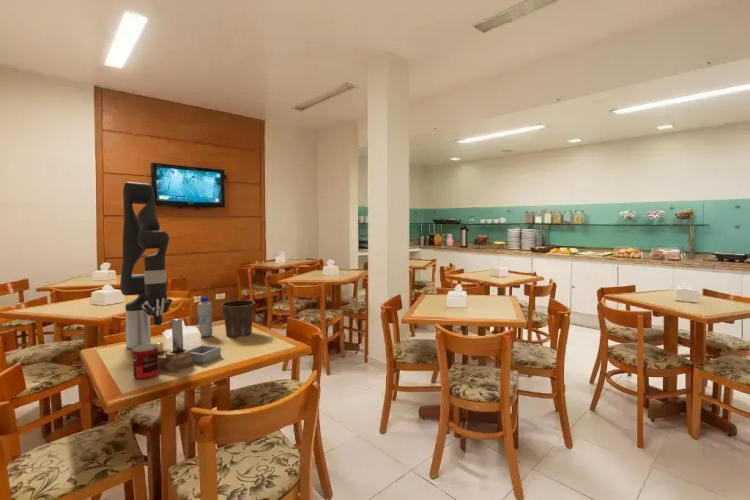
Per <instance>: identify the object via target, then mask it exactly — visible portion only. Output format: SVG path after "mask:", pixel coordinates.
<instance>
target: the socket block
mask: <svg viewBox="0 0 750 500" xmlns="http://www.w3.org/2000/svg"><path fill="white" fill-rule="evenodd" d="M190 349H191V348H190ZM190 349H188V348H183V352H182V353H179V354H175V353H173V349H165V348H163V354H160V355H158V371H164V372H171V373H176V374H177V373H178V372H182V371H183V370H186V369H188V368H190V367H193V366H194V363H193V353H191V350H190Z"/></svg>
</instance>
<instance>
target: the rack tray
mask: <svg viewBox="0 0 750 500" xmlns="http://www.w3.org/2000/svg"><path fill="white" fill-rule="evenodd" d="M190 350H191V353H193V364H196V365H197V364H199V365H205V364H207V363H210V362H211V361H214V360H216V359H219V358H220V357H222V352H221V350H222V348H221V346H216V345H215V346H214V345H204V344H201V345H198V346H195V347H192V348H190Z"/></svg>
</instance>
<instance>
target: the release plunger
mask: <svg viewBox="0 0 750 500" xmlns="http://www.w3.org/2000/svg"><path fill="white" fill-rule="evenodd" d="M154 344H156V345H157V352H158V355H160V354H163V349H164V342H162V341H161V342H160V341H159V342H155V343H154Z"/></svg>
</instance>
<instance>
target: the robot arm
mask: <svg viewBox="0 0 750 500" xmlns="http://www.w3.org/2000/svg"><path fill="white" fill-rule="evenodd" d="M122 193H123V195H122V197H123V228H122V229H123V230H122V262H121V263H122V264H121V265H122V266H121V273H120V281H119V282H120V283H119V286H120V287H119V288H120V292H121V294H122V295H123V296H137V295H138V296H137V297H136V298H135V299H133V300H132V301H129V302H127V303H126V304H125V320H126V321H125V322H126V323H125V324H126V326H125V327H124V328H125V329H124V331H125V346H126V347H127V348H129V349H132V350H133V348H134V347H135V346H138V345H143V344H152V339H151V338H152V336H151V335H152V333H151V320H150V319H151V316H152V319H153V320H152V322H153V325H154V326H157V327H158V326H161V325H162V323H163V315H164V314H166V313H167V312H168V309H169V308H170V305H171V303H172V302H173V299H171V298H168V296H167V293H168V285H167V284H168V283H167V281H168V280H167V272H166V253H167V250H168V246H169V242H170V236H169V234H168V232H167V231H165V230H160V229H161V226H160V221H159V219H158V216H157V215H158V214H157V211H156V210H157V208H156V199H155V190H154V187H153V186H152V185H151V184H150V183H146V182H134V181H126V182H125V183H124V185H123V190H122ZM134 205H144V207H142V208H141V209H140V210H139V212H138V213H137V215H136V213H135V210H134ZM151 249H152V250H153V249H157V252H156V253H152V254H148V255H146V256H144V260H143V261H144V262H143V263H144V264H143V265H144V273H138V274H137V273H136V274H133V270H134V268H135V265H136V264H137V262H138V261H139V260H140V258H141V257H142V256H143V255H144V253H145V251H146V250H151Z"/></svg>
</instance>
